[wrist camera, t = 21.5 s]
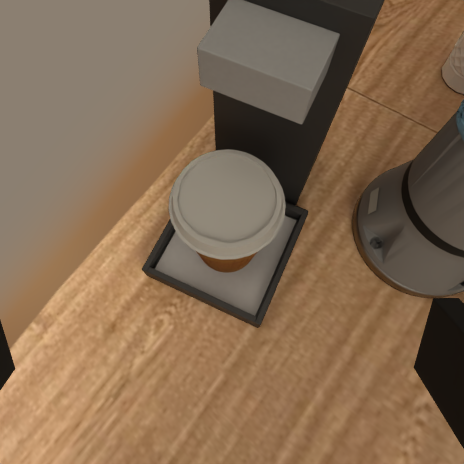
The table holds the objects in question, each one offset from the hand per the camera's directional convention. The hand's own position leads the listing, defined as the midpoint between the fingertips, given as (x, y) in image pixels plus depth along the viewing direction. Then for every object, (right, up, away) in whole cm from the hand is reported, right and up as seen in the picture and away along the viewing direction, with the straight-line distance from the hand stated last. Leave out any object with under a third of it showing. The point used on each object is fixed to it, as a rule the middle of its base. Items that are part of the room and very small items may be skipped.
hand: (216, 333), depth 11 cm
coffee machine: (+2, +5, +31) cm, 32 cm away
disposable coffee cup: (0, +2, +29) cm, 29 cm away
